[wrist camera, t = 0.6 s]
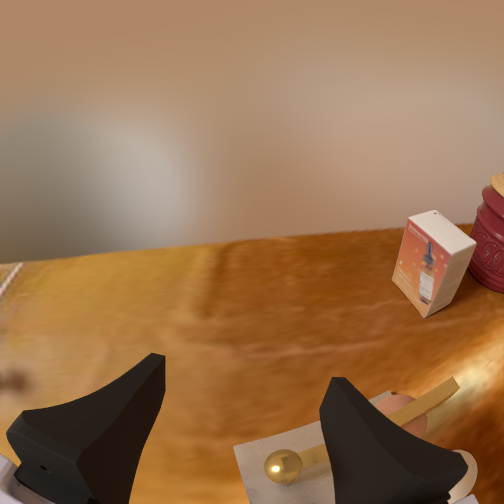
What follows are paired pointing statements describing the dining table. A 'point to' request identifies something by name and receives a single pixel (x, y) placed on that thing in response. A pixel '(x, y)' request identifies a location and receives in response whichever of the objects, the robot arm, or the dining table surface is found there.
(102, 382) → the dining table surface
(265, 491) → the plate
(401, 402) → the cap
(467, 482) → the coaster
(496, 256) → the canister
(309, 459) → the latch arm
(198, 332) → the dining table surface
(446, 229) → the small box
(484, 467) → the dining table surface
